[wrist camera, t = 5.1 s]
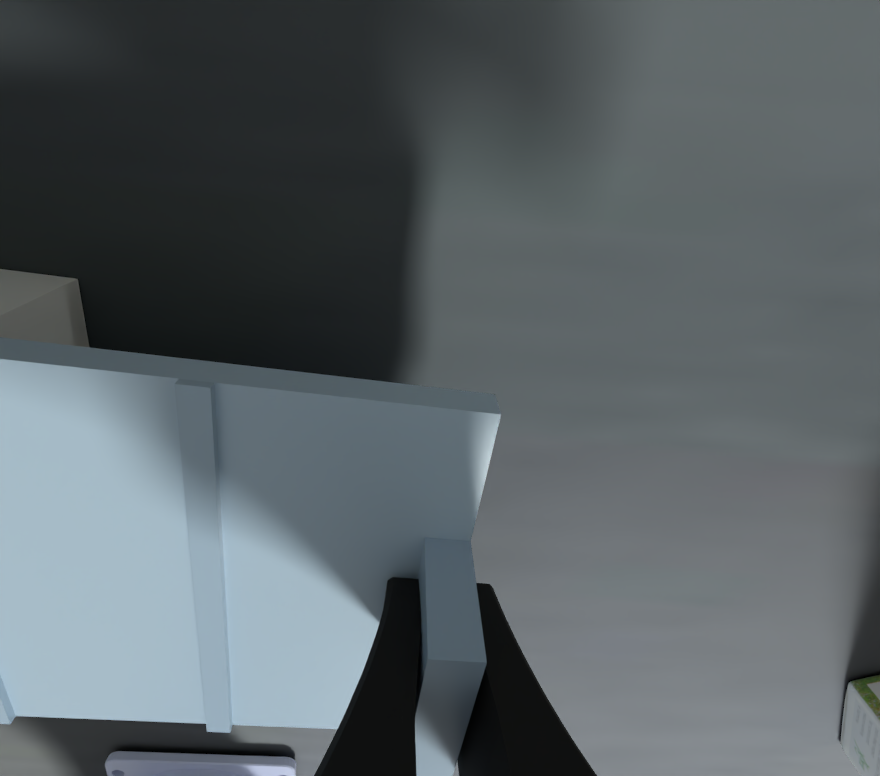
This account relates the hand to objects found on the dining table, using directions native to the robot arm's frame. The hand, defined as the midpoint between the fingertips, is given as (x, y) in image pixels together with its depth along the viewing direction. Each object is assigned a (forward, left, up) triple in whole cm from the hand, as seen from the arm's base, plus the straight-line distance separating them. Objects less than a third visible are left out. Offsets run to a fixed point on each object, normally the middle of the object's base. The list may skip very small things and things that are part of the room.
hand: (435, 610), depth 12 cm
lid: (0, +8, -1) cm, 8 cm away
